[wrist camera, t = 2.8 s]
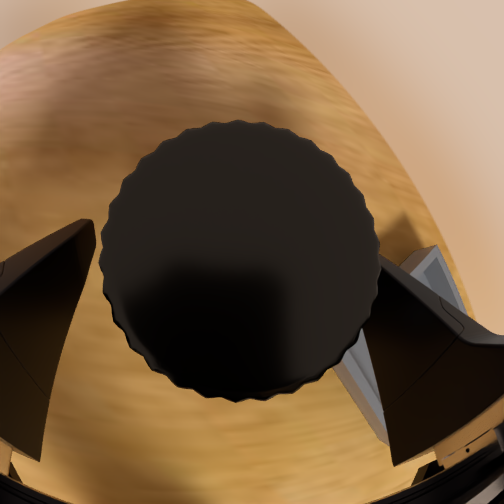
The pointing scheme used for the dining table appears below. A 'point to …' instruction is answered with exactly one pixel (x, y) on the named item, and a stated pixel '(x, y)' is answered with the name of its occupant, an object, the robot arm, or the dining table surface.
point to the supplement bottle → (240, 261)
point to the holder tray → (357, 357)
